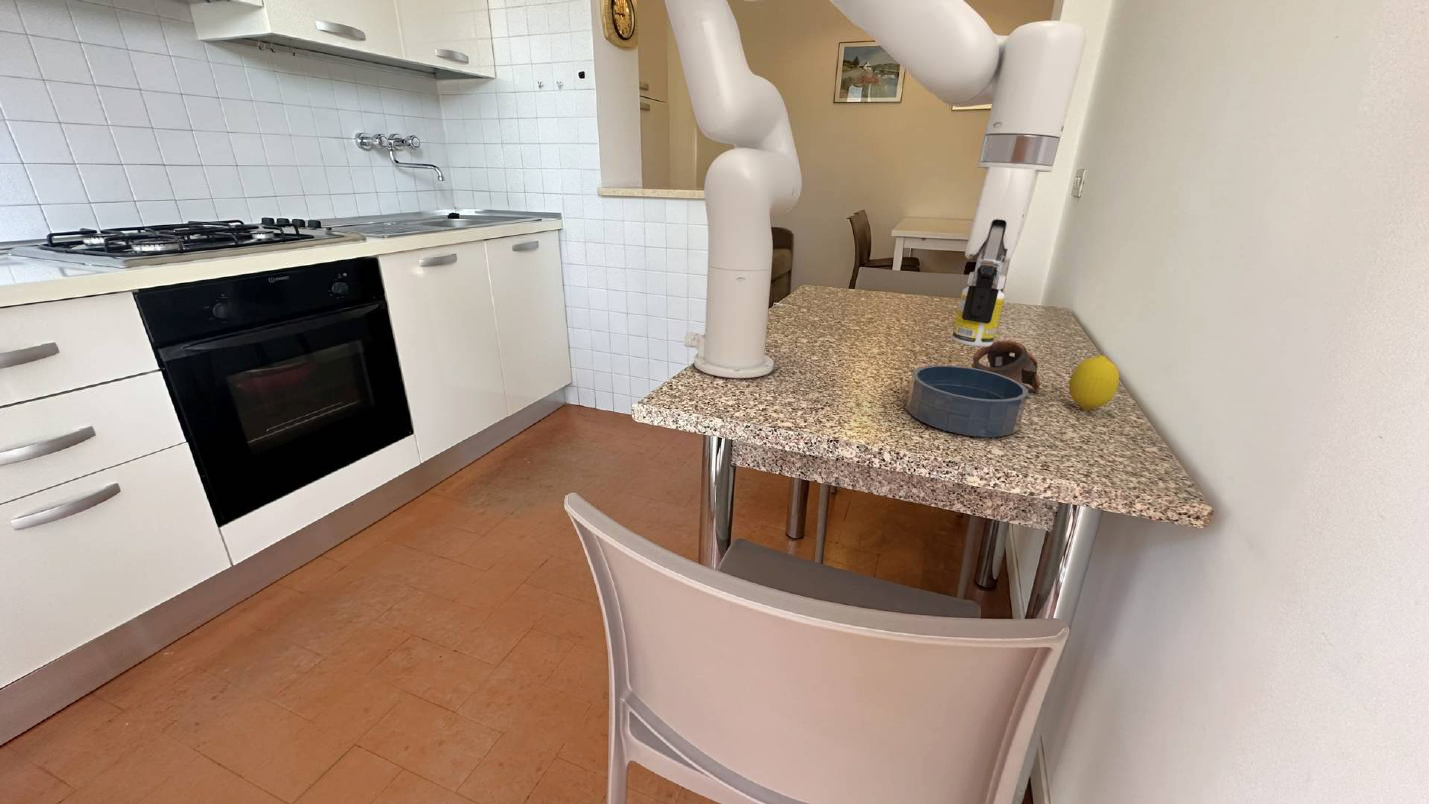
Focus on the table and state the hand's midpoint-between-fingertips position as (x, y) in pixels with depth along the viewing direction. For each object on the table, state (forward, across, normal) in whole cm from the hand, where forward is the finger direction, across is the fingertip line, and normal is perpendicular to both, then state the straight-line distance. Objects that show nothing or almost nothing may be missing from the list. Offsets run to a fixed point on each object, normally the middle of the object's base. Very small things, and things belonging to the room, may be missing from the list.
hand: (977, 315), depth 70 cm
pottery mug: (+14, -17, +5) cm, 22 cm away
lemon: (+13, -13, +16) cm, 24 cm away
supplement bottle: (+4, 0, 0) cm, 4 cm away
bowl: (+13, 0, +1) cm, 14 cm away
